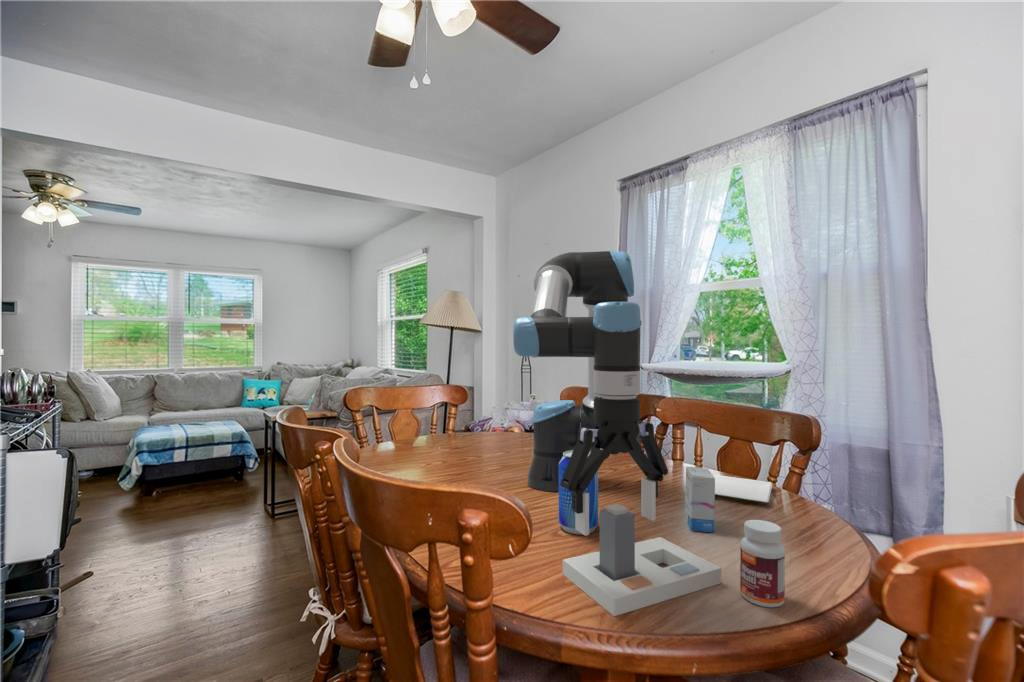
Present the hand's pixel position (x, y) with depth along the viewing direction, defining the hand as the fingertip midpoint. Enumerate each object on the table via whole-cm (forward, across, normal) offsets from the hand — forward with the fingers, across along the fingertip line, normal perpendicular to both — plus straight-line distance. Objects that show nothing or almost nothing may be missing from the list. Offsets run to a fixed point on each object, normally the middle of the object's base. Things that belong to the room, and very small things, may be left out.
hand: (616, 524), depth 78 cm
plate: (+11, +59, +26) cm, 65 cm away
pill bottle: (+10, +18, -14) cm, 24 cm away
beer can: (+10, +8, +22) cm, 26 cm away
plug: (+10, 0, 0) cm, 10 cm away
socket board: (+10, +5, 0) cm, 11 cm away
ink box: (+10, +33, +12) cm, 37 cm away
